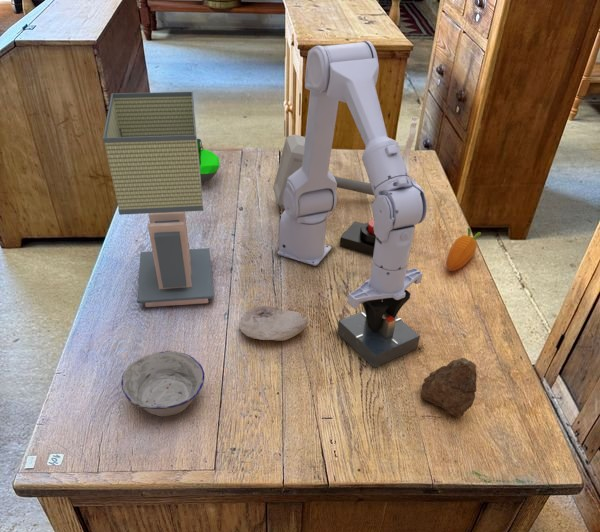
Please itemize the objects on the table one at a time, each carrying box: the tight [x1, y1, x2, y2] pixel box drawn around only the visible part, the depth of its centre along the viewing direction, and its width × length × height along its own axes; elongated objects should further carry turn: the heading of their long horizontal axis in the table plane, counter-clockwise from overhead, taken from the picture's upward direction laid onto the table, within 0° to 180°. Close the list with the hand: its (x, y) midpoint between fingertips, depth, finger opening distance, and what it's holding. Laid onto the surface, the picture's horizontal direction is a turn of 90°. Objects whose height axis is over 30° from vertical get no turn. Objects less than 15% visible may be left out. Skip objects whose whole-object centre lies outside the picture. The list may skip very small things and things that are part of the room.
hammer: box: [272, 134, 374, 210], centre depth 136 cm, size 15×8×30 cm
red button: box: [368, 218, 374, 234], centre depth 124 cm, size 4×4×2 cm
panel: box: [337, 309, 421, 369], centre depth 104 cm, size 11×10×3 cm
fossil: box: [238, 305, 309, 342], centre depth 104 cm, size 12×4×10 cm
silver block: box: [366, 311, 396, 339], centre depth 101 cm, size 6×2×4 cm, turn 33°
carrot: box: [446, 227, 482, 272], centre depth 122 cm, size 5×5×15 cm
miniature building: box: [197, 138, 221, 185], centre depth 142 cm, size 12×12×11 cm
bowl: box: [120, 350, 205, 417], centre depth 92 cm, size 13×13×5 cm
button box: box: [339, 220, 376, 257], centre depth 126 cm, size 10×8×4 cm
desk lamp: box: [102, 91, 215, 308], centre depth 103 cm, size 18×14×33 cm
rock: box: [420, 357, 478, 418], centre depth 91 cm, size 10×6×10 cm
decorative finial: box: [402, 116, 418, 175], centre depth 122 cm, size 6×4×25 cm
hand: (379, 326), depth 102 cm, fingers closed
